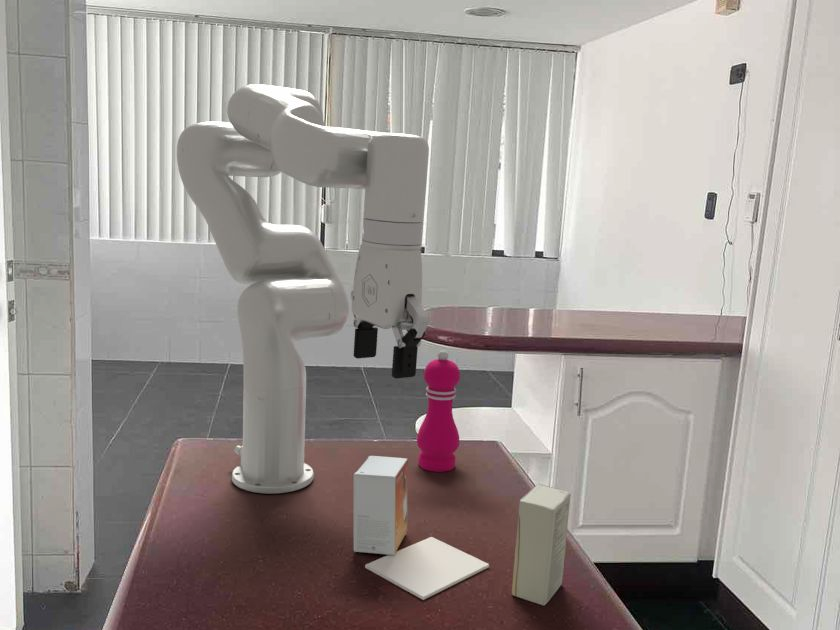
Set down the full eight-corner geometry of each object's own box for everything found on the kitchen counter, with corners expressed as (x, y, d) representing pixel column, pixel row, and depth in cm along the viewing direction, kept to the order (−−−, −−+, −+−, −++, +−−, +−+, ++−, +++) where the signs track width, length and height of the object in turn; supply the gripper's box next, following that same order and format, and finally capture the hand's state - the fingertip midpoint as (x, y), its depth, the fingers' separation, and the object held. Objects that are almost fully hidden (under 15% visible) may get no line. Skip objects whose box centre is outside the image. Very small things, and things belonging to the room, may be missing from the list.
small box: (394, 557, 100) (395, 477, 99) (352, 552, 101) (352, 473, 100) (408, 531, 108) (409, 457, 107) (368, 528, 109) (369, 454, 108)
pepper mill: (410, 459, 136) (416, 346, 133) (449, 456, 139) (456, 345, 135) (422, 474, 130) (429, 355, 126) (464, 471, 132) (471, 354, 128)
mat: (365, 567, 98) (365, 564, 98) (431, 539, 107) (431, 536, 107) (423, 600, 91) (423, 596, 91) (488, 567, 100) (489, 564, 100)
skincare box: (529, 574, 98) (537, 482, 96) (563, 585, 96) (572, 490, 94) (510, 596, 93) (517, 499, 91) (545, 608, 91) (554, 508, 89)
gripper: (333, 226, 104) (326, 352, 107) (404, 243, 90) (393, 388, 93) (382, 227, 108) (374, 348, 111) (457, 244, 94) (445, 382, 97)
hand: (383, 366), depth 102 cm, fingers open, 9 cm apart
